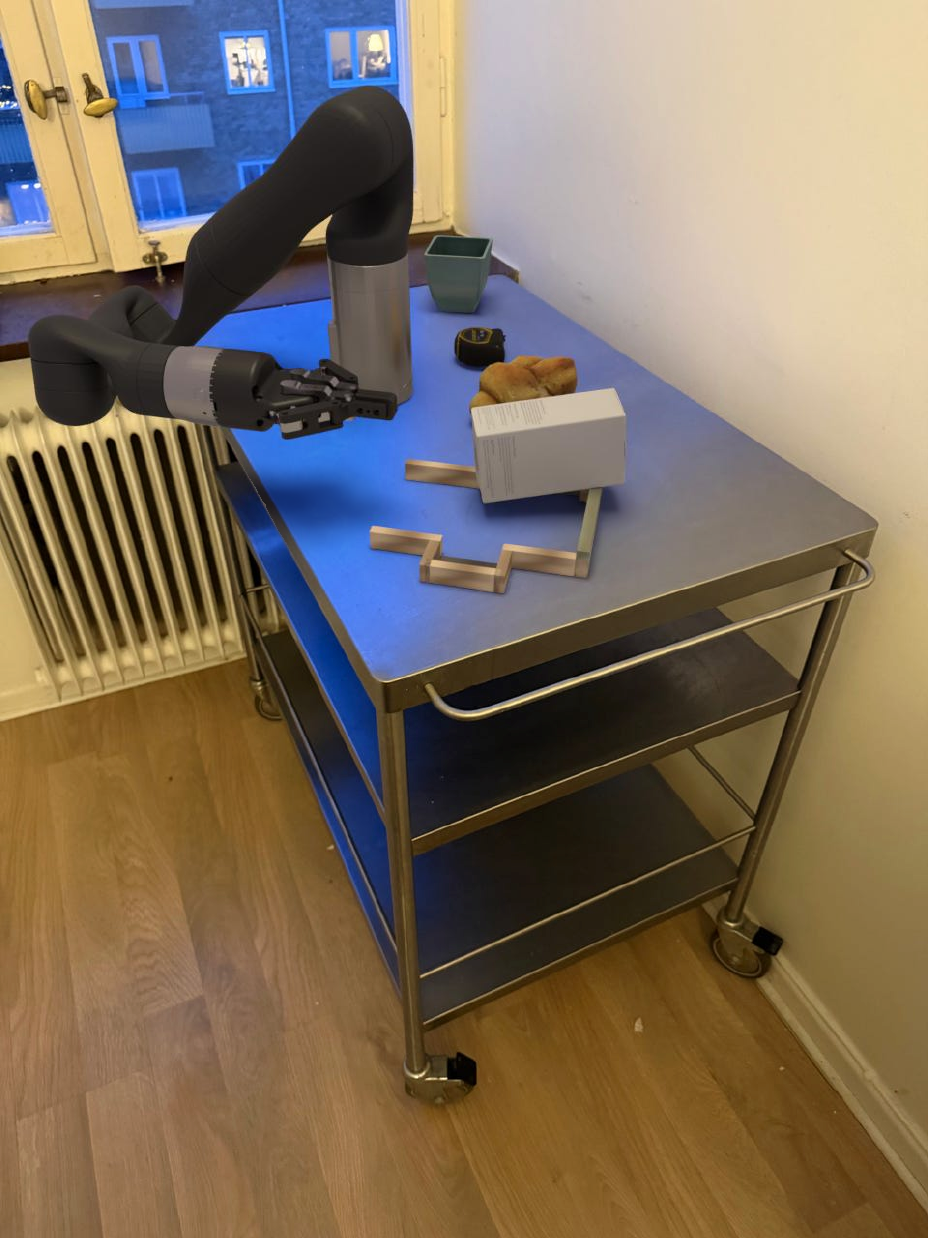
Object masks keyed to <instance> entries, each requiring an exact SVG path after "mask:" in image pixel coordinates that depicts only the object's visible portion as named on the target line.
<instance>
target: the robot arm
mask: <svg viewBox="0 0 928 1238" xmlns="http://www.w3.org/2000/svg"><path fill="white" fill-rule="evenodd" d="M414 168H415V166H414V140H413V134H412V128H411V123H410V120H409V118H408V115H407V112H406V111H405V108H404V106H403V104H401V102H400V101H399V100H398V99H397V97H396V96H395V95H393V94H392V93H391V92H389V91H388V90H386V89H385V88H382V87H380V86H377V85H361V86H357V87H354V88H352V89H349V90H346V91H344V92H342V93H340V94H337V95H335V96H332V97H330V98H328V99H327V100H324V102H322V103H321V104H320V105H319V106H318V107H316V108H315V110H313V111H312V113H311V114H310V115H309V116H308V118H307V119H306V120H305V121H304V123H303V124H302V126H301V127H300V128H299V130H298V131H297V132H296V134H295V135H294V136H293V137H292V139H291V140H290V141H289V143H288V144H287V145H286V147H285V148H284V149H283V150H282V151H281V153H280V154H279V155H278V157H277V158H276V159H275V160H274V162H273V163H272V164H271V165H270V166H269V167H268V169H267V170H265V171H264V172H263V174H262V175H260V176H258V178H256V179H255V180H253V181H252V182H250V183H249V184H248V185H247V186H245V187H244V188H242V189H241V190H240V191H238V193H236V194H235V195H234V196H233V197H232V198H230V199H229V200H228V201H227V202H226V203H225V204H223V206H221V207H220V208H219V209H218V210H216V211H215V212H214V214H212V216H211V217H209V218H208V219H207V221H206V222H205V223H203V224H202V225H201V227H200V228H198V229H197V231H196V232H195V233H194V234H193V235H192V237H191V239H190V240H189V243H188V245H187V249H186V253H185V258H184V259H185V260H184V265H183V280H182V281H183V283H182V286H183V287H182V301H181V306H180V310H179V314H178V317H177V318H176V320H175V318H173V317H172V315H171V314H170V312H168V311H167V309H166V308H165V307H164V306H163V305H162V304H161V303H160V302H159V301H158V299H156V297H155V295H153V294H152V293H151V292H150V291H149V290H148V289H146V288H144V287H143V286H140V285H135V284H134V285H129V286H124V287H123V288H121V289H119V290H118V291H116V292H115V293H114V294H112V295H110V297H108V298H107V299H106V300H104V301H103V303H101V304H100V305H99V306H98V307H97V308H96V309H95V310H94V311H93V312H92V313H91V315H89V316H88V318H87V319H84V318H80V317H77V316H72V315H68V314H67V315H66V314H51V315H47V316H44V317H42V318H40V319H38V320H37V321H35V322H34V323H33V324H32V325H31V327H30V328H29V330H28V334H27V335H28V336H27V343H28V344H27V346H28V352H29V357H30V366H31V367H30V368H31V373H32V380H33V388H34V389H33V390H34V395H35V396H34V397H35V401H36V404H37V406H38V408H39V410H40V411H41V413H43V415H44V416H45V417H47V418H48V419H49V420H51V421H53V422H55V423H57V424H58V425H62V426H68V427H81V426H82V427H83V426H87V425H91V424H94V423H96V422H98V421H100V420H101V419H103V418H105V416H106V415H107V414H109V413H110V411H112V409H113V407H114V405H115V402H116V399H118V401H119V402H120V404H121V406H122V407H123V408H124V409H126V410H127V411H128V412H130V413H131V414H136V415H140V416H146V417H156V418H162V419H163V418H164V419H173V420H181V421H185V422H189V423H193V424H197V425H202V426H207V427H209V426H210V427H217V428H224V429H225V428H226V429H232V430H233V429H234V430H235V429H236V430H243V431H252V432H257V433H258V432H260V433H263V432H267V431H269V430H271V428H272V427H274V425H278V426H279V428H280V433H281V434H280V435H281V439H283V440H286V441H290V440H294V439H299V438H304V437H308V436H313V435H317V434H321V433H328V432H330V431H331V432H332V431H337V430H341V429H343V427H344V422H351V421H354V420H355V419H356V418H362V419H363V418H364V419H373V420H380V421H392V420H394V418H395V416H396V414H397V413H398V411H399V408H398V405H400V404H403V403H405V402H406V401H408V400H409V399H410V398H411V396H412V395H413V391H414V389H413V388H414V387H413V386H414V385H413V377H414V376H413V364H412V363H413V358H412V357H413V355H412V330H411V329H412V327H411V326H412V325H411V322H412V321H411V301H410V300H411V299H410V298H411V296H410V295H411V294H410V293H411V292H410V269H409V267H410V265H409V262H410V261H409V234H410V230H411V227H412V222H413V218H414V217H413V216H414V183H415V181H414ZM328 218H330V220H329V221H328V223H327V225H326V228H325V247H326V248H325V249H326V257H327V258H326V259H327V268H328V278H329V280H328V281H329V289H330V298H331V299H330V300H331V311H332V319H330V321H329V322H328V323H327V335H328V346H329V354H330V355H329V356H330V357H329V358H330V359H329V358H321V359H319V360H318V368H315V369H311V370H308V369H306V368H303V367H293V368H283V367H282V366H281V365H280V364H279V363H278V361H277V359H276V358H275V357H274V356H273V355H272V354H270V353H268V352H265V351H256V350H246V349H245V350H244V349H235V348H226V347H217V346H216V347H215V346H208V345H206V346H205V345H196V344H197V343H198V342H199V341H200V340H201V339H202V338H203V337H205V335H207V334H208V332H210V330H211V329H212V328H213V327H215V326H216V325H217V324H218V323H220V321H221V320H223V319H224V318H225V317H226V316H228V315H229V314H230V313H231V312H233V311H234V310H236V309H237V308H238V307H239V306H241V305H242V304H243V303H244V302H246V301H247V300H248V299H250V298H251V297H252V296H253V295H255V294H256V293H257V292H258V291H259V290H260V289H262V288H263V287H264V286H265V285H267V283H269V282H270V281H271V280H272V279H273V278H274V277H275V276H277V274H278V273H279V272H280V271H281V270H282V269H284V267H285V266H286V265H287V264H288V263H289V261H290V260H291V259H292V257H293V256H294V254H296V252H297V249H298V248H299V246H300V245H301V243H302V241H304V239H305V238H306V237H307V235H308V234H309V233H310V232H311V231H312V230H313V229H315V227H317V226H318V225H319V224H321V223H322V222H324V221H325V220H326V219H328Z"/></svg>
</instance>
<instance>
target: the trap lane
mask: <svg viewBox="0 0 928 1238" xmlns="http://www.w3.org/2000/svg"><path fill="white" fill-rule="evenodd" d="M404 470H405V471H404V473H405V476H404V477H405V480H407V481H416V482H423V483H424V482H425V483H433V484H440V485H446V486H447V485H448V486H456V487H464V488H472V489H479V490H480V487H479V485H478V481H477V477H476V472H475V466H470V465H463V464H453V463H448V462H447V463H446V462H437V461H429V460H421V459H413V458H407V459H406V460H405V462H404ZM603 488H604V487H598V488H591V489H584V490H577V491H569V492H562V493H559V494H563V495H570V496H579V502H582V503H583V502H584V503H586V505H585V509H584V515H583V518H582V519H583V520H582V524H581V530H580V534H579V539H578V543H577V544H578V545H577V548H576V552H570V551H563V550H556V549H547V548H542V547H541V548H540V547H534V546H525V545H519V544H518V545H517V544H510V543H503V545H502V548H501V552H500V555H499V557H498V560H497V562H490V561H482V560H477V559H476V560H475V559H470V558H460V557H456V556H455V557H454V556H446V555H442V554H443V552H444V551H443V544H444V543H443V534H436V533H431V532H430V533H429V532H422V531H414V530H408V529H407V530H405V529H399V528H391V527H384V526H377V525H372V526H371V529H370V530H369V541H370V542H369V543H370V549H373V550H381V551H386V552H387V551H388V552H395V553H403V554H408V555H417V556H422V558H421V559H420V561H419V568H418V569H419V582H420V583H427V584H432V585H433V584H435V585H442V586H449V587H455V588H456V587H457V588H460V589H470V590H477V591H482V592H489V593H495V594H496V593H497V594H505V592H506V588H507V583H508V582H509V577H510V574H511V570H512V569H517V570H518V569H519V570H523V571H524V570H525V571H530V572H531V571H533V572H538V573H546V574H554V575H561V576H569V577H576V578H582V579H583V578H584V579H587V577H588V574H589V568H590V563H591V555H592V552H593V545H594V541H595V540H594V539H595V535H596V530H597V524H598V518H599V513H600V507H601V502H602V496H603Z"/></svg>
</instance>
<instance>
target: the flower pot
mask: <svg viewBox="0 0 928 1238" xmlns="http://www.w3.org/2000/svg"><path fill="white" fill-rule="evenodd" d="M493 241H494V240H493V238H492V237H484V236H483V237H479V236H477V237H476V236H461V235H460V236H459V235H457V236H456V235H455V236H454V235H439V234H438V235H435V236H433V238H432V240H431V241H430V244H429V246H428V247H427V249H426V250H425V252H424V255H423V258H424V263H425V264H424V265H425V270H426V271H425V272H426V277H427V283H428V288H429V291H430V295H431V297H432V299H433V302H434V303H435V304H436V306H437V307H438V309H439V310H440V311H441V312H449V313H467V314H472V313H474V312H475V311H476V309H477V307H478V305H479V303H480V300H481V298H482V296H483V293H484V291H485V288H486V285H487V282H488V278H489V274H490V267H491V260H492V250H493Z"/></svg>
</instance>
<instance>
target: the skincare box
mask: <svg viewBox="0 0 928 1238" xmlns="http://www.w3.org/2000/svg"><path fill="white" fill-rule="evenodd" d="M470 415H471V427H472V429H471V430H472V445H473V460H474V467H475V472H476V477H477V481H478V485H479V487H480V489H479V491H480V493H481V499H482V502H483V504H491V503H496V502H497V503H498V502H503V501H510V500H518V499H525V498H532V497H538V496H545V495H552V494H553V495H554V494H560V493H562V492H569V491H577V490H584V489H591V488H598V487H603V488H607V487H611V486H619V485H620V486H621V485H624V484H625V482H626V481H625V479H626V462H627V461H626V460H627V459H626V458H627V414H626V413H625V410H624V407H623V405H622V403H621V401H620V398H619V396H618V393H617V391H616V390H615V388H614V387H612V388H611V387H610V388H603V389H596V390H588V391H582V392H581V391H580V392H575V393H573V394H566V395H559V396H552V397H545V398H538V399H531V400H523V401H516V402H509V403H502V404H495V405H488V406H481V407H473V408H472V409H471V414H470Z"/></svg>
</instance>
